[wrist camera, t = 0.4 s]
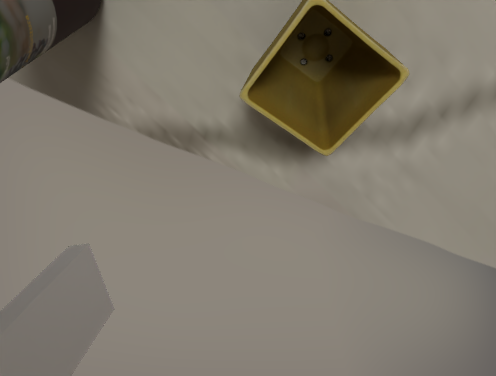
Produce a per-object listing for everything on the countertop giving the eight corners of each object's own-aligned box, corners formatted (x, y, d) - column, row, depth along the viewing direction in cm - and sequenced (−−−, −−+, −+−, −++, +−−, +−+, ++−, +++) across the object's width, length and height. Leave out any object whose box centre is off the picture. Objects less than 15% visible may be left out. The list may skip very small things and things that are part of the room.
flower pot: (245, 56, 36) (236, 98, 28) (307, -33, 31) (314, -9, 24) (318, 108, 38) (326, 159, 31) (385, 34, 34) (413, 74, 26)
